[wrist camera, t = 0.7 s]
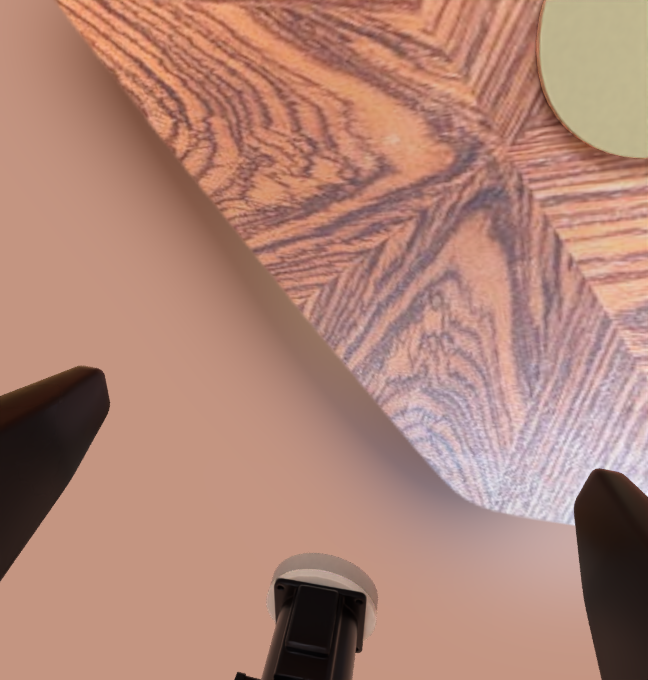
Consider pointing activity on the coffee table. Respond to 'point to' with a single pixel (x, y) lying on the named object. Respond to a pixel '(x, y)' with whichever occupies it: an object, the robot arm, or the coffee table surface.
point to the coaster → (597, 71)
